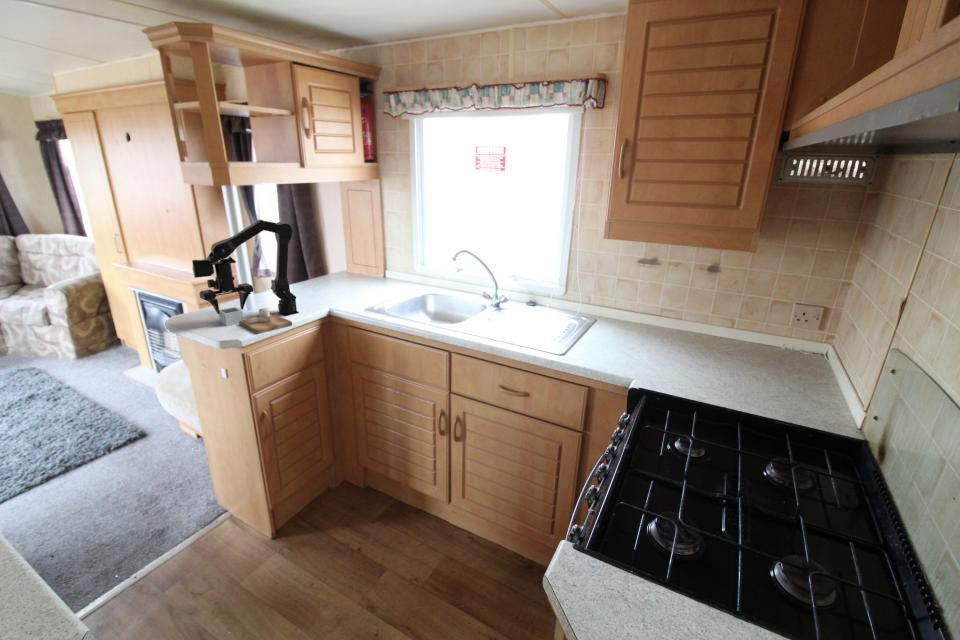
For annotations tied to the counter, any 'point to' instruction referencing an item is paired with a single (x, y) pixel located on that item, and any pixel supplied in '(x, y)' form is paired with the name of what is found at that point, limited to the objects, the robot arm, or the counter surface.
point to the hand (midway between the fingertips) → (230, 311)
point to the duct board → (265, 322)
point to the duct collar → (230, 316)
